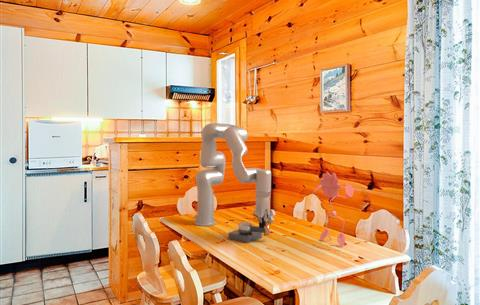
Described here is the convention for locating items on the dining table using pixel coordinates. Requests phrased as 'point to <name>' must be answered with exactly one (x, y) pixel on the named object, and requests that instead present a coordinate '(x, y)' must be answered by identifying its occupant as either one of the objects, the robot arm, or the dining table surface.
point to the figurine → (331, 187)
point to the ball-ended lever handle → (252, 228)
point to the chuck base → (244, 236)
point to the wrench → (270, 216)
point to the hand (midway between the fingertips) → (262, 230)
